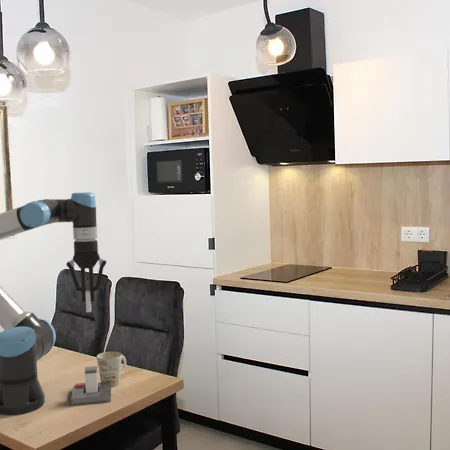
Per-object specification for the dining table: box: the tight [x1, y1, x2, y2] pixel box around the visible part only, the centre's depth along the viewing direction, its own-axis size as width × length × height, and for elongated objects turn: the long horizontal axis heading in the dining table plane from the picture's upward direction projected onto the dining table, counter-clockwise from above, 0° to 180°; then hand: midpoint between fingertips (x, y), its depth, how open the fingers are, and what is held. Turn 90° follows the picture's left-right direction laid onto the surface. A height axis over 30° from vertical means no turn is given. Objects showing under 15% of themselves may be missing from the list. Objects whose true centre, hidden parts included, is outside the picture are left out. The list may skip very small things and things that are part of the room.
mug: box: [96, 351, 127, 388], centre depth 199 cm, size 8×13×10 cm, turn 152°
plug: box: [84, 365, 99, 393], centre depth 186 cm, size 4×4×9 cm
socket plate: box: [70, 382, 112, 406], centre depth 187 cm, size 12×12×3 cm
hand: (88, 311), depth 190 cm, fingers closed
